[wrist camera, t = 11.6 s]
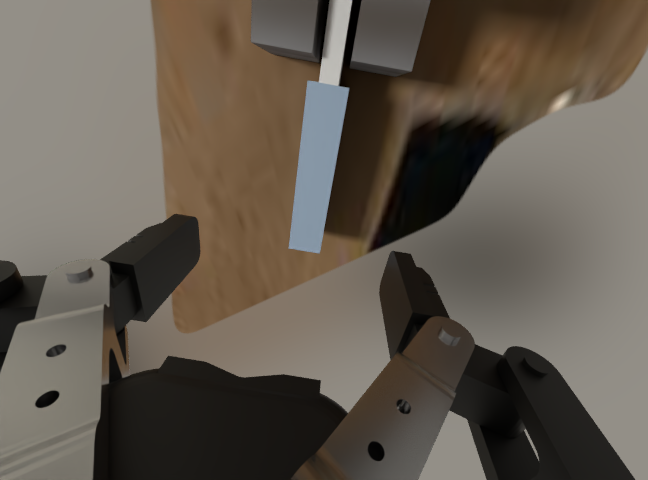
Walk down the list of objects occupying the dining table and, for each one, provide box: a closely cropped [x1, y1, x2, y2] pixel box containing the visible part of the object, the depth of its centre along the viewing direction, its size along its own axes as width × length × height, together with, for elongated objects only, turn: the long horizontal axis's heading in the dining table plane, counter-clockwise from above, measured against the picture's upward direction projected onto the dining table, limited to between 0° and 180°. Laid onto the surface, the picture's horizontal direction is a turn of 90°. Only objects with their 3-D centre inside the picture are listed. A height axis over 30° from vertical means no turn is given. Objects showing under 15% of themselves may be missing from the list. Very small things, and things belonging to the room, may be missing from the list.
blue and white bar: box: [289, 0, 352, 253], centre depth 24 cm, size 19×3×5 cm, turn 171°
